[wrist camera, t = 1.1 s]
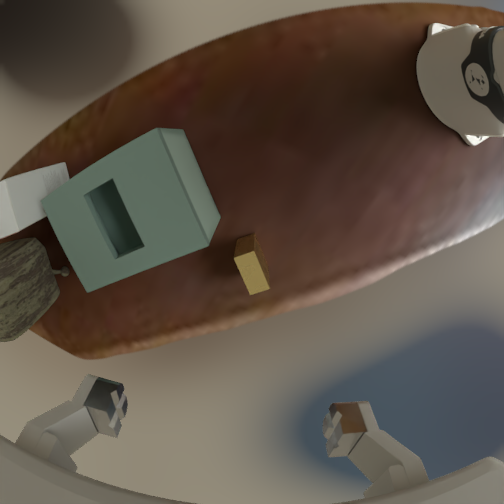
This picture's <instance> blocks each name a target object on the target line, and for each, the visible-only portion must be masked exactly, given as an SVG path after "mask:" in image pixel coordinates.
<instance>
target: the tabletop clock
mask: <svg viewBox="0 0 504 504" xmlns="http://www.w3.org/2000/svg"><path fill="white" fill-rule="evenodd" d="M60 273H61V275H62V276H68V275H69V269H68V267H66V266H63V267H62V268H61V270H53V269H52V268H51V265H50V262H49V258H48V255H47V252H46V249H45V247H44V246H43V245H42V244H41V243H40V242H39V241H38V240H37V239H36V238H35V237H31V238H25V239H19V240H14V241H10V242H6V243H2V244H0V342H7V341H12V340H15V339H16V338H18V337H19V336H21V335H22V334H23V333H24V332H25V331H27V330H28V329H29V328H30V327H31V326H32V325H33V324H34V323H35V322H36V321H37V320H38V319H39V318H40V317H41V316H42V315H43V314H44V313H45V312H46V311H47V310H48V309H49V308H50V306H51V305H52V304H53V303H54V302H55V301H56V299H57V298H58V296H59V294H60V290H59V287H58V285H57V282H56V279H55V276H54V274H60Z"/></svg>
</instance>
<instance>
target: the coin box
mask: <svg viewBox="0 0 504 504" xmlns="http://www.w3.org/2000/svg"><path fill="white" fill-rule="evenodd" d="M41 203H42V205H43V208H44V210H45V212H46V214H47V217H48V219H49V221H50V223H51V225H52V227H53V230H54V232H55V234H56V236H57V238H58V240H59V242H60V244H61V246H62V248H63V250H64V252H65V254H66V256H67V257H68V259H69V261H70V263H71V265H72V267H73V269H74V270H75V272H76V274H77V276H78V277H79V279H80V281H81V283H82V284H83V286H84V288H85V290H86V291H87V293H88V292H91V291H93V290H96V289H98V288H101V287H103V286H106V285H108V284H111V283H114V282H116V281H119V280H121V279H124V278H126V277H129V276H131V275H134V274H137V273H139V272H142V271H144V270H147V269H149V268H152V267H155V266H157V265H160V264H162V263H165V262H168V261H170V260H173V259H176V258H178V257H181V256H184V255H186V254H189V253H191V252H194V251H197V250H199V249H202V248H205V247H208V246H209V243H210V241H211V239H212V236H213V234H214V232H215V229H216V227H217V225H218V222H219V220H220V218H221V217H220V214H219V212H218V210H217V207H216V205H215V203H214V201H213V198H212V196H211V194H210V191H209V189H208V187H207V184H206V182H205V180H204V177H203V175H202V173H201V170H200V168H199V165H198V163H197V161H196V158H195V156H194V154H193V151H192V149H191V147H190V144H189V142H188V139H187V137H186V135H185V132H184V130H183V129H168V128H155V129H153V130H151V131H149V132H148V133H146V134H144V135H142V136H140V137H138V138H136V139H135V140H133V141H131V142H129V143H127V144H126V145H124V146H122V147H120V148H119V149H117V150H115V151H114V152H112V153H110V154H108V155H107V156H105V157H104V158H102V159H100V160H99V161H97V162H96V163H94V164H92V165H91V166H89V167H88V168H86V169H85V170H83V171H82V172H80V173H79V174H77V175H76V176H74V177H73V178H71V179H70V180H68V181H67V182H65V183H64V184H63V185H61V186H60V187H58V188H57V189H56V190H54V191H53V192H51V193H50V194H49V195H47V196H46V197H45V198H43V199H42V200H41Z"/></svg>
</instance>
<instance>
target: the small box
mask: <svg viewBox="0 0 504 504" xmlns="http://www.w3.org/2000/svg"><path fill="white" fill-rule="evenodd" d="M68 180H70V179H69V175H68V171H67V167H66V163H65V162H63V163H59V164H55V165H51V166H47V167H44V168H40V169H36V170H33V171H29V172H26V173H23V174H20V175H16V176H13V177H10V178H7V179H4V180H2V181H1V182H0V239H3V238H5V237H8V236H10V235H13V234H15V233H17V232H20V231H21V230H23V229H24V228H26V227H28V226H30V225H32V224H33V223H35V222H37V221H39V220H41V219H43V218H45V217H46V216H47V214H46V212H45V210H44V208H43V205H42V203H41V200H42V199H43V198H45V197H46V196H47V195H49V194H50V193H51V192H53V191H54V190H56V189H57V188H58V187H60V186H61V185H63V184H64V183H65V182H67V181H68Z"/></svg>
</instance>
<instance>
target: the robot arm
mask: <svg viewBox="0 0 504 504" xmlns="http://www.w3.org/2000/svg"><path fill="white" fill-rule="evenodd" d="M417 78H418V82H419V86H420V89H421V92H422V94H423V97H424V99H425V101H426V103H427V104H428V106H429V107H430V109H431V110H432V112H433V113H434V114H435V115H436V117H437V118H438V119H439V120H440V121H442V122H443V123H444V124H445V125H447V126H448V127H450V128H452V129H454V130H455V131H457V132H458V133H459V134H460V135H461V137H462V138H463V139H464V141H465V142H466V143H467V144H468V145H470V146H475V145H478V144H479V143H481V142H482V141H484V140H485V139H487V138H488V137H504V26H498V27H497V26H496V27H489V28H479V26H478V25H470V24H462V25H459V26H456V27H451V26H447V25H443V24H439V23H433V24H430V25H429V28H428V36H427V40H426V42H425V43H424V44H423V46H422V47H421V49H420V51H419V54H418V57H417ZM476 136H477V137H476ZM123 391H124V386H123V384H122V383H118V382H115V381H111V380H107V379H104V378H100V377H97V376H93V375H90V374H88V375H87V376H86V377H85V378H84V380H83V381H82V383H81V385H80V387H79V388H78V390H77V392H76V394H75V396H74V397H73V399H72V401H66V402H65V403H63V404H61V405H59V406H57V407H55V408H53V409H51V410H49V411H48V412H46V413H44V414H42V415H40V416H38V417H36V418H34V419H32V420H30V421H28V422H27V424H26V425H25V427H24V429H23V430H22V432H21V434H20V436H19V437H18V439H17V441H16V443H13V442H11V441H10V440H8V439H6V438H5V437H3V436H1V435H0V504H196V503H188V502H182V501H176V500H170V499H165V498H160V497H155V496H150V495H146V494H142V493H138V492H134V491H130V490H127V489H123V488H119V487H116V486H113V485H109V484H106V483H103V482H100V481H97V480H94V479H92V478H89V477H86V476H83V475H81V474H78V473H76V470H77V466H76V464H75V463H74V461H73V460H72V459H71V457H70V455H71V454H73V453H74V452H75V451H76V450H78V449H79V448H81V447H82V446H83V445H84V444H85V443H87V442H88V441H90V440H91V439H92V438H94V437H95V436H96V435H97V434H98V433H101V434H105V435H108V436H112V437H118V434H119V431H120V428H121V422H120V420H121V419H122V418H124V417H125V415H126V412H127V405H128V404H127V397H126V396H125V395H124V394H123ZM329 411H330V413H328V414H327V415H326V416H325V418H324V421H323V434H324V436H325V437H326V438H327V439H328V441H327V443H326V448H327V453H328V457H339V456H348V458H349V459H350V460H351V461H352V462H353V463H354V464H355V465H356V466H357V467H358V468H359V469H360V470H361V472H363V474H364V475H366V477H367V478H368V479H369V480H370V481H371V482H372V483H373V484H372V485H371V486H370V487H369V488H368V489H367V490H366V491H365V492H364V497H365V498H364V499H359V500H353V501H348V502H341V503H334V504H504V463H503V462H501V461H499V460H498V459H496V458H493V457H486V458H484V459H482V460H480V461H477V462H475V463H473V464H471V465H469V466H467V467H465V468H462V469H460V470H457V471H455V472H452V473H450V474H447V475H445V476H442V477H439V478H436V479H434V480H431V481H429V479H428V476H427V474H426V471H425V469H424V466H423V464H422V461H421V459H420V458H419V457H418V456H417V455H415V454H414V453H412V452H411V451H410V450H408V449H407V448H406V447H404V446H403V445H402V444H400V443H399V442H398V441H396V440H395V439H394V438H392V437H391V436H390V435H388V434H387V433H386V432H385V431H383V430H379V428H378V425H377V422H376V419H375V417H374V414H373V412H372V409H371V406H370V404H369V402H368V401H360V402H342V403H332V404H331V405H330V407H329Z"/></svg>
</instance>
